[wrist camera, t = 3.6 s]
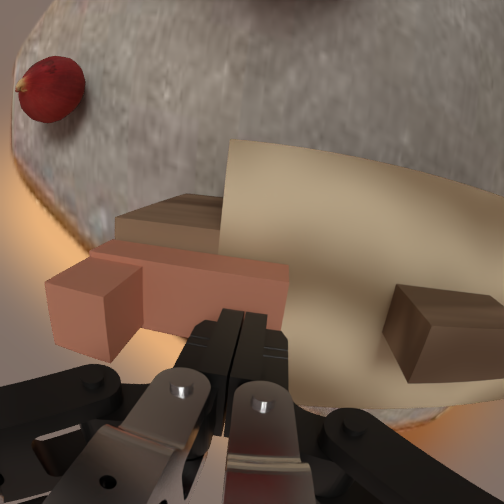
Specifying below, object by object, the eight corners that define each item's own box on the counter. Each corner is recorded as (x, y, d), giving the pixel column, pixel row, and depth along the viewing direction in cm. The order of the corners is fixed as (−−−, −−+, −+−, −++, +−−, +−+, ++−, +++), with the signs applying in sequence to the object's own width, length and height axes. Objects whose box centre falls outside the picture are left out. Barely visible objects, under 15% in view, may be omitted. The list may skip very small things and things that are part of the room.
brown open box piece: (190, 149, 23) (119, 140, 12) (494, 205, 21) (579, 233, 11) (179, 292, 26) (123, 367, 16) (461, 326, 25) (519, 393, 14)
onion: (56, 75, 22) (0, 60, 14) (103, 59, 21) (49, 34, 14) (54, 130, 23) (-6, 128, 16) (100, 118, 23) (41, 108, 15)
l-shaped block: (112, 239, 13) (43, 275, 9) (288, 264, 13) (291, 322, 8) (114, 298, 14) (56, 349, 9) (277, 327, 14) (273, 403, 9)
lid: (237, 142, 14) (206, 127, 8) (560, 221, 13) (620, 245, 7) (215, 368, 18) (189, 446, 12) (504, 380, 16) (541, 429, 10)
